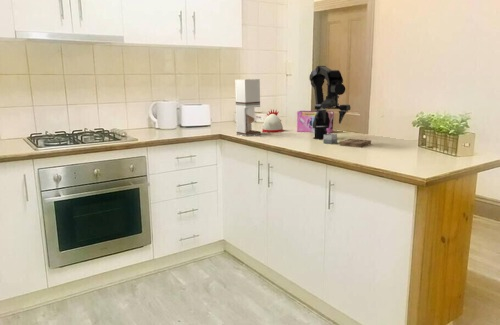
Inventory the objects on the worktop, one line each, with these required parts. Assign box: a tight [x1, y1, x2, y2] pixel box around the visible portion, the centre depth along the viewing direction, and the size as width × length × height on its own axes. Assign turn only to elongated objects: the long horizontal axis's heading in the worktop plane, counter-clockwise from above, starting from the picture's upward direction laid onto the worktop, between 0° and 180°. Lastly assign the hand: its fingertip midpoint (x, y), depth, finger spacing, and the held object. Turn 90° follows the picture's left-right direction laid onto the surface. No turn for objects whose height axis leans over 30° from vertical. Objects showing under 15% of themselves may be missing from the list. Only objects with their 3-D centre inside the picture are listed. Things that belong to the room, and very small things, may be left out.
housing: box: [322, 132, 338, 145], centre depth 226 cm, size 5×6×5 cm
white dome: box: [262, 109, 284, 134], centre depth 279 cm, size 14×14×15 cm
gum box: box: [296, 110, 335, 134], centre depth 272 cm, size 24×8×14 cm, turn 60°
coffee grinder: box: [234, 78, 262, 137], centre depth 262 cm, size 11×11×35 cm
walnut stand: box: [339, 138, 372, 148], centre depth 219 cm, size 12×12×2 cm
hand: (331, 123), depth 225 cm, fingers open, 9 cm apart
